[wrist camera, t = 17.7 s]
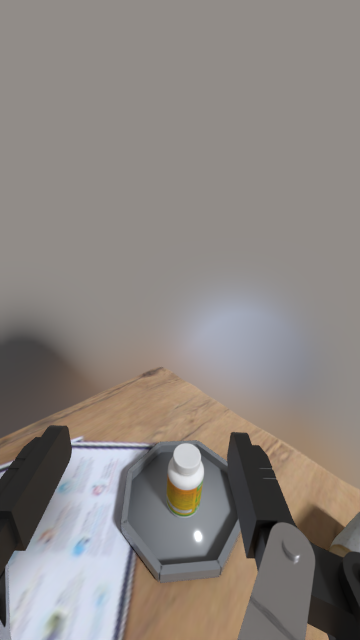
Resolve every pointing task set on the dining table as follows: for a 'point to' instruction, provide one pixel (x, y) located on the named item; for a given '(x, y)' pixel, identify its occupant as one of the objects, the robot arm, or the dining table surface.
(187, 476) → the supplement bottle
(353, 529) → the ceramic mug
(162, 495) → the dish
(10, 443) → the dining table surface
